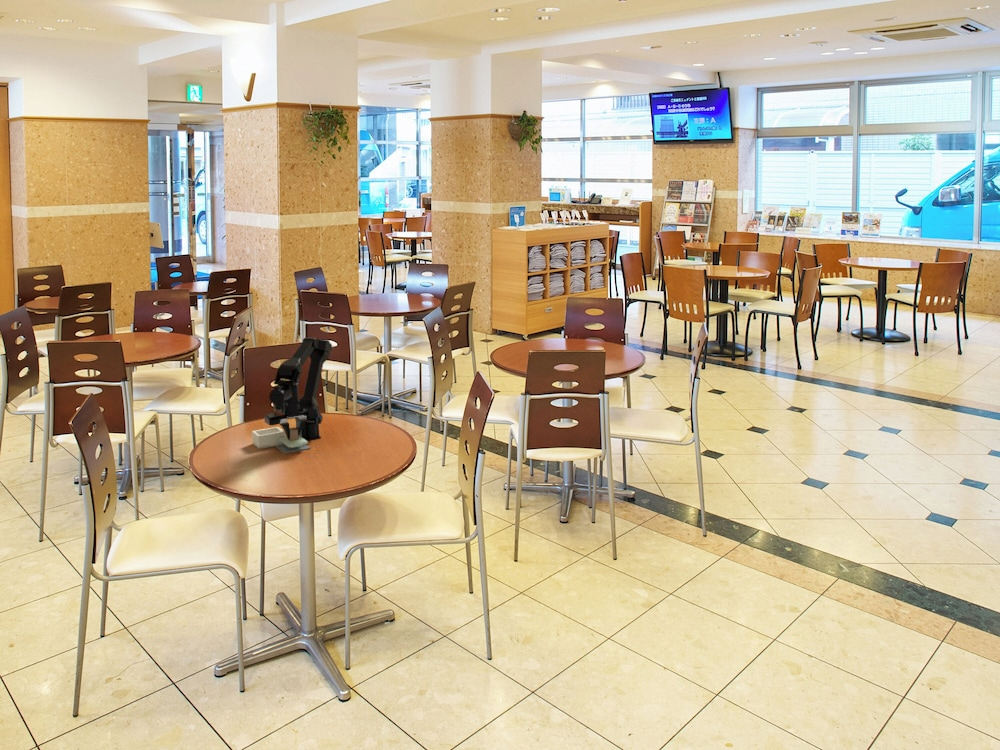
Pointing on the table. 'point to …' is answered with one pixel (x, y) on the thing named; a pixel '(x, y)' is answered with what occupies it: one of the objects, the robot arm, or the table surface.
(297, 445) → the lid
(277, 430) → the caddy
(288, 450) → the mat
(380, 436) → the table surface
